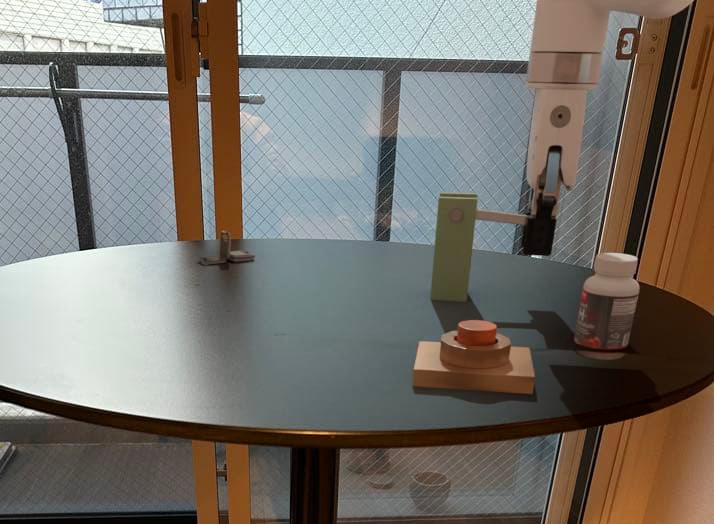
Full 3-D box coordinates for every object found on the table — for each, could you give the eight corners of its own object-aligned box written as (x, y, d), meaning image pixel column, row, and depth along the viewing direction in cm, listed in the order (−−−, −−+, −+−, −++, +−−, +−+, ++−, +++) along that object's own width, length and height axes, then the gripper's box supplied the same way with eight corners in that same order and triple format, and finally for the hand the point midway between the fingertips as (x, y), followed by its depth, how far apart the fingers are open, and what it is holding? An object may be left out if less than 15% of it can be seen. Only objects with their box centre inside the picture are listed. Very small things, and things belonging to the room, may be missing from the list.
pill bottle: (560, 349, 85) (577, 253, 80) (599, 343, 87) (618, 249, 82) (596, 364, 81) (616, 264, 76) (636, 357, 83) (658, 259, 78)
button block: (527, 363, 81) (532, 329, 79) (532, 394, 73) (538, 357, 72) (417, 357, 83) (420, 323, 81) (412, 386, 75) (414, 349, 73)
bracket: (495, 299, 103) (509, 192, 97) (497, 317, 96) (512, 202, 89) (402, 294, 105) (409, 188, 99) (397, 312, 98) (404, 199, 91)
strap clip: (248, 256, 125) (247, 227, 123) (256, 260, 123) (255, 230, 121) (196, 261, 122) (195, 231, 120) (204, 265, 120) (202, 235, 117)
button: (494, 339, 78) (496, 321, 77) (495, 350, 75) (497, 331, 74) (456, 336, 78) (458, 318, 77) (456, 347, 75) (457, 329, 74)
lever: (551, 235, 96) (558, 207, 94) (553, 240, 93) (560, 211, 92) (443, 222, 97) (447, 194, 96) (442, 226, 95) (447, 197, 93)
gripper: (610, 74, 79) (575, 268, 88) (589, 73, 93) (561, 240, 102) (531, 73, 80) (505, 264, 89) (523, 71, 94) (501, 237, 103)
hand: (535, 249), depth 96 cm, fingers closed on lever, 3 cm apart
